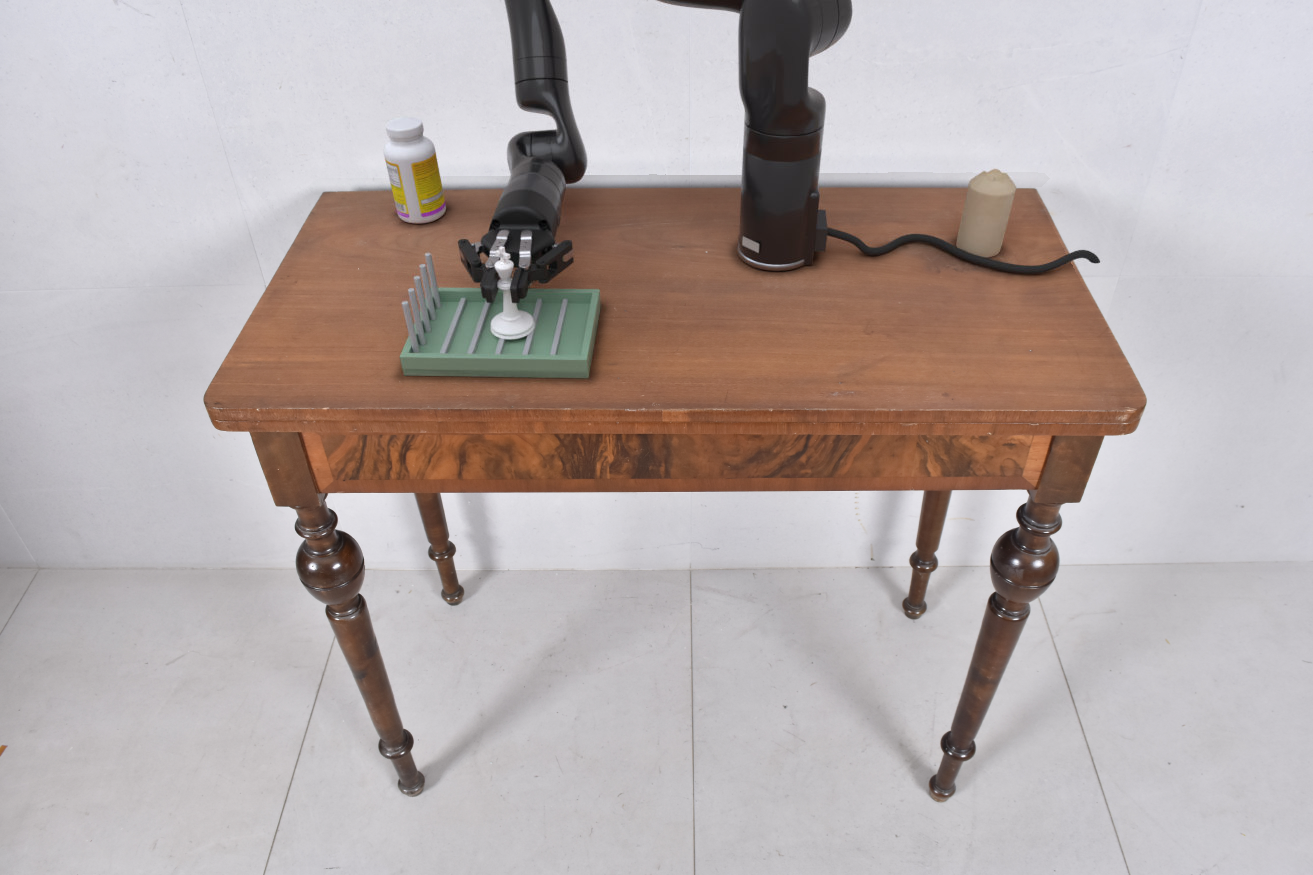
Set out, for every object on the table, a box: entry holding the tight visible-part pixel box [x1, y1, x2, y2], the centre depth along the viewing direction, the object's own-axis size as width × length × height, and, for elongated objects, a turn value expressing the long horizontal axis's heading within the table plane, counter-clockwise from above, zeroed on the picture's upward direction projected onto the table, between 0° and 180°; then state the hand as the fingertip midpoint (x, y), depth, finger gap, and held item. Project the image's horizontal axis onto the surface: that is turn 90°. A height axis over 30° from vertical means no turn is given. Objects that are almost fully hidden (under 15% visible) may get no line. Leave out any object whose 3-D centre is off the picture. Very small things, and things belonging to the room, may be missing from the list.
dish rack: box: [399, 252, 602, 379], centre depth 102 cm, size 20×14×8 cm
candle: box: [955, 168, 1017, 258], centre depth 115 cm, size 6×6×10 cm
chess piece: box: [491, 246, 535, 339], centre depth 100 cm, size 5×5×10 cm
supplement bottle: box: [383, 116, 447, 224], centre depth 124 cm, size 7×7×13 cm
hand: (501, 295), depth 97 cm, fingers closed on chess piece, 2 cm apart
